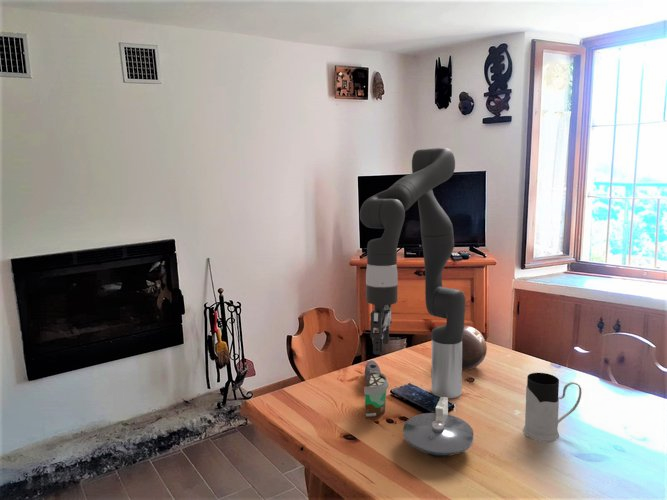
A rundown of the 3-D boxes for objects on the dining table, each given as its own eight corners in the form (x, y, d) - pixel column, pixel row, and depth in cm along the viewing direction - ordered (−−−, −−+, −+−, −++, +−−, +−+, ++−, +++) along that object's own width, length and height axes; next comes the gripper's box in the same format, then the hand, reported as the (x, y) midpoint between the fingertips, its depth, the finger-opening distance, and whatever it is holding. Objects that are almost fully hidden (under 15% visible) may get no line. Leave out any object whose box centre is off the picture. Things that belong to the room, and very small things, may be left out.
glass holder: (518, 424, 133) (519, 371, 130) (571, 423, 132) (574, 370, 130) (530, 441, 124) (532, 386, 121) (587, 441, 123) (590, 385, 121)
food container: (387, 422, 135) (386, 389, 134) (365, 421, 137) (364, 387, 135) (390, 402, 147) (390, 370, 146) (370, 400, 148) (370, 369, 147)
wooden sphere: (482, 379, 161) (483, 335, 158) (437, 372, 167) (437, 330, 165) (489, 362, 174) (490, 322, 172) (447, 357, 181) (447, 318, 178)
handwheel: (467, 461, 111) (467, 434, 109) (395, 446, 117) (394, 421, 116) (477, 425, 126) (478, 401, 125) (413, 413, 133) (413, 391, 132)
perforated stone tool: (364, 373, 169) (363, 354, 168) (379, 373, 169) (379, 354, 168) (365, 393, 154) (365, 372, 153) (382, 392, 154) (381, 371, 153)
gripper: (392, 289, 109) (391, 359, 110) (401, 278, 122) (401, 341, 124) (359, 287, 111) (359, 356, 113) (372, 277, 124) (372, 339, 126)
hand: (381, 348), depth 118 cm, fingers open, 8 cm apart
